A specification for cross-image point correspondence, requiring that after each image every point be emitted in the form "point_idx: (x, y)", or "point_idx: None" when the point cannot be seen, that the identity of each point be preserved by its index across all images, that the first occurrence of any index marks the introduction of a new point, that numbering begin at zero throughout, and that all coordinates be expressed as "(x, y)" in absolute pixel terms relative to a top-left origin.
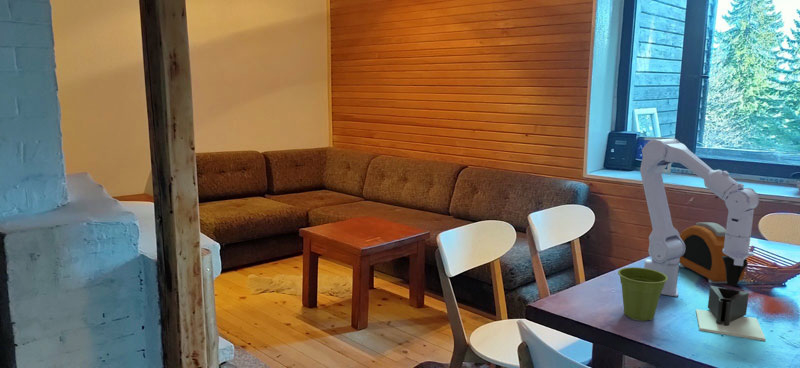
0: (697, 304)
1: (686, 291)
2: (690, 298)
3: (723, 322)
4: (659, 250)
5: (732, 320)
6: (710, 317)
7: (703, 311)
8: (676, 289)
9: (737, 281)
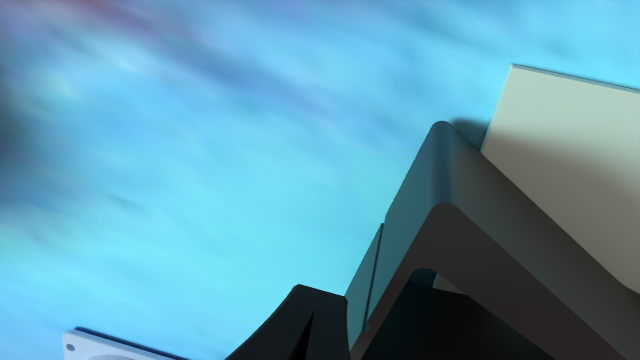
0: None
1: (88, 294)
2: (196, 314)
3: None
4: None
5: (597, 264)
6: None
7: None
8: (109, 350)
9: (346, 332)
